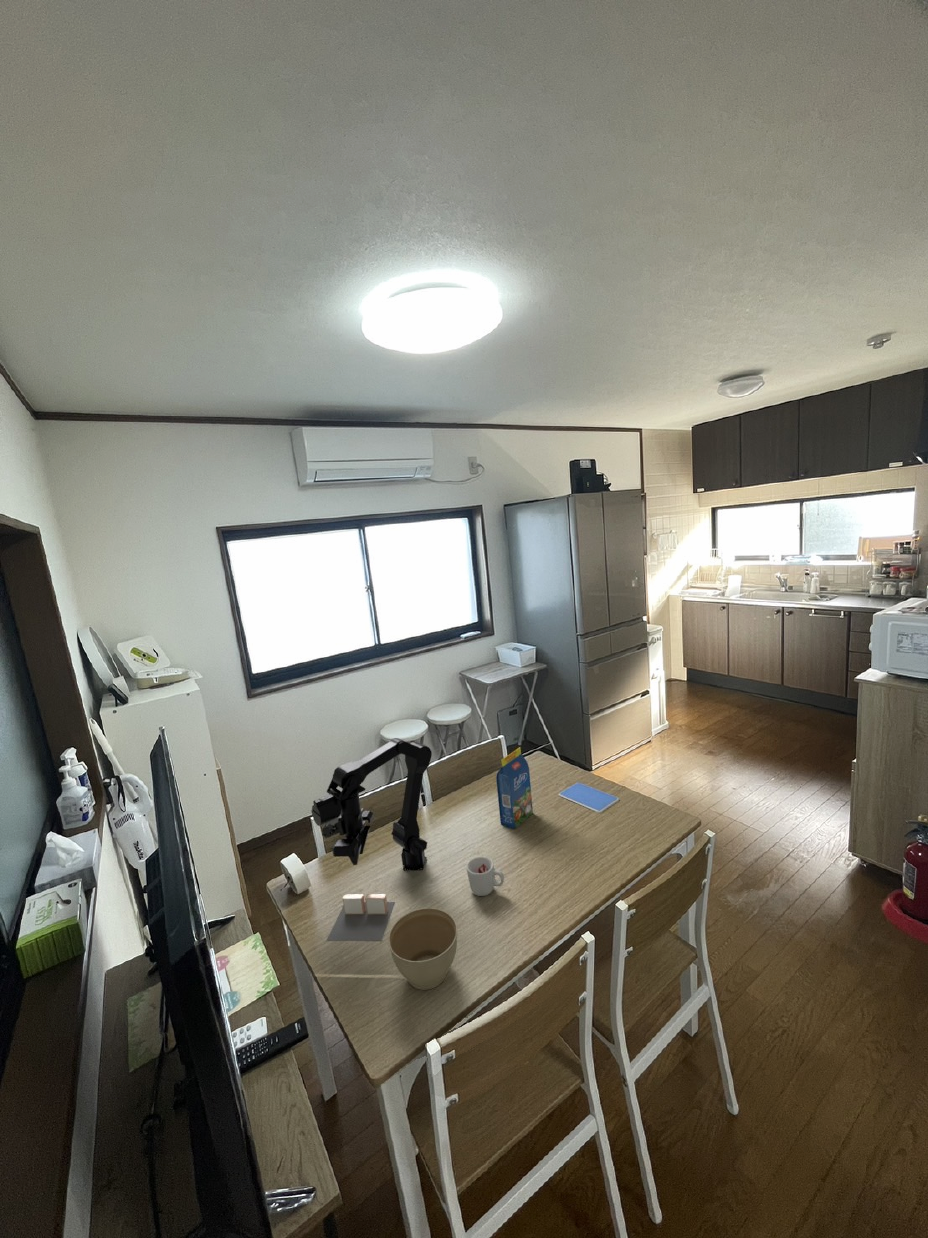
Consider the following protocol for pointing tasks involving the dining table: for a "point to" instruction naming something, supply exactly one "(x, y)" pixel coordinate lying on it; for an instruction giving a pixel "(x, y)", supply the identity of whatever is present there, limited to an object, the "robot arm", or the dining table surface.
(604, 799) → the tablet computer
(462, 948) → the dining table surface
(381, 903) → the tile
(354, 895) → the tile
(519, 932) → the dining table surface
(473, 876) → the cup
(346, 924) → the mat
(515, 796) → the blue food package
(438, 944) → the planter bowl
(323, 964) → the dining table surface
